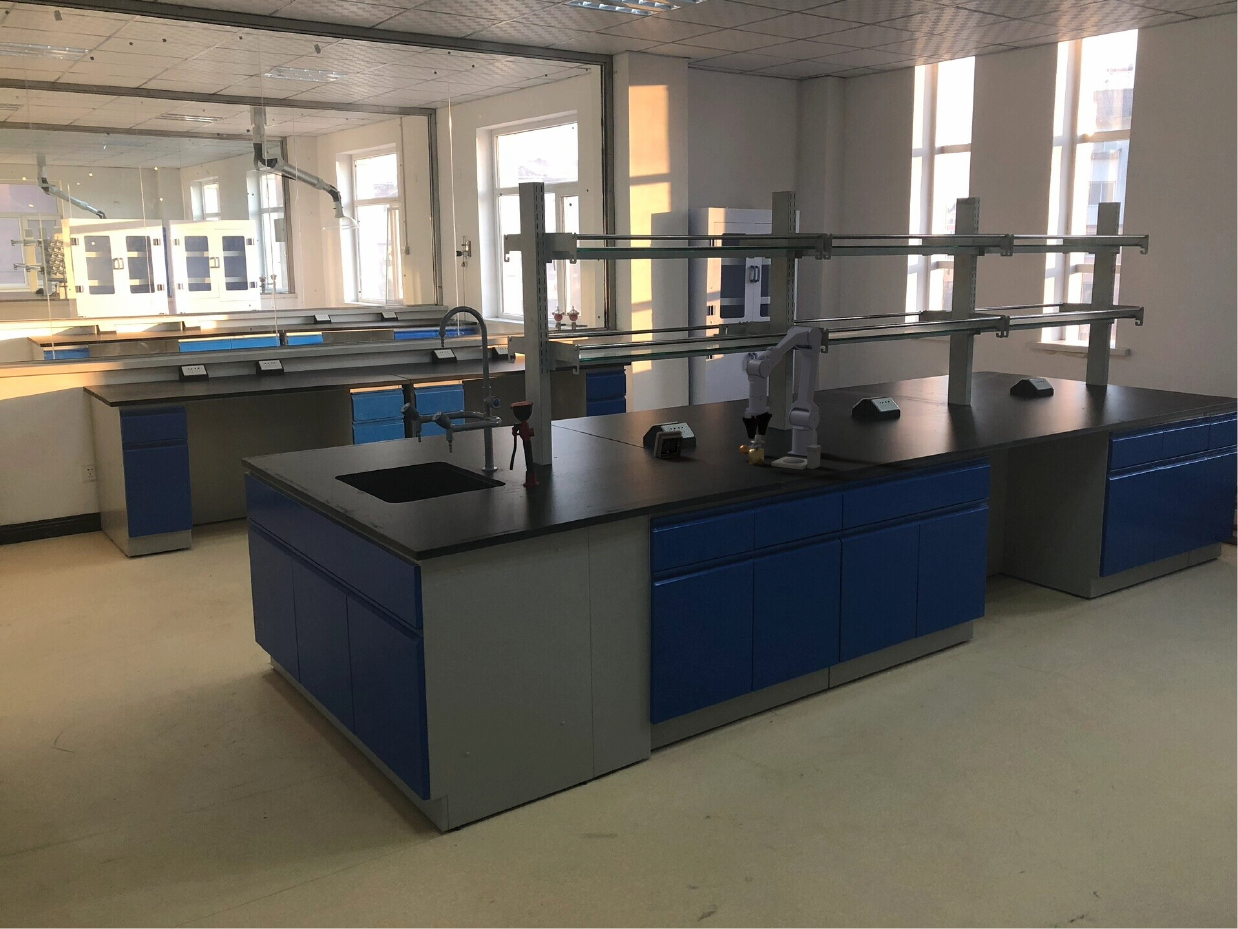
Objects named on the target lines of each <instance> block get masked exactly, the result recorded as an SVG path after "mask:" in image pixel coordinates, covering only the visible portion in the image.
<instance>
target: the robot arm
mask: <svg viewBox="0 0 1238 929" xmlns="http://www.w3.org/2000/svg"><path fill="white" fill-rule="evenodd" d="M786 333H787V334H786V335H785V336H784V337H783V339H781V341H779V343H778V344H776V346H768V347H766V350H765V351H764V352H763V353H761V354H760V355H759V356H757V357H756V359H755V358H752V359H751V360H750V361H748V363H747V364H746V368H745V373H746V375H747V380H748V383H749V386H748V387H749V388H748V396H749V397H748V407H746V408H745V411H744V416H742V417H741V419H742V422H743V424H744V426H745V428H746V430H745V431H746V434H747V437H748V439H749V440H754V439H755V436H756V435H761V436H765V435H766V433H767V430H768V426H769V423H770V421H771V419H772V417H773V413H770V411H771V409H770V408H771V407H770V406H767V404H768V402H767V400H768V398H767V396H768V395H767V394H768V377H770V375H771V373H772V370H773V369H774V367H776V365H778V364H779V363H780V362H781V361H782V360H783V355H784V354H786V353H787V352H788V351H789V350H791V349H792V348H794V347H795V348H796V349H797V350H799V351H800V352H801V353H802V359H801V369H800V370H801V371H800V377H799V384H798V385H799V386H798V393H797V400H795V401H794V402H793V403H791V405H790V410H789V412H788V416H787V421H788V424H789V425H790V428H792V438H791V439H792V441H791V443H792V444H791V450H790V451H788V452H787V454H788V455H793V456H794V455H795V456H803V457H807V447H808V446H810V445H818V431H816V428H817V427H818V426H819V424H820V421H821V420H820V407H819V406H818V405H817V404H816V403H815V402H814V396H815V391H816V390H815V389H816V382H817V381H816V379H817V373H818V365H819V357H820V352H821V346H822V338H823V335H822V332H821V330H820V329H819V328H818V327H817V326H813V327H810V326H797V325H792V326H791V327H790V328H789V329H788V330H787V332H786ZM757 432H758V433H757Z"/></svg>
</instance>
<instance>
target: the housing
mask: <svg viewBox="0 0 1238 929" xmlns="http://www.w3.org/2000/svg"><path fill="white" fill-rule="evenodd" d="M764 463H765V449H764V448H762V447H761V448H758V446H755V448H750V449H749V453H748V465H749V464H750V466H753V467H754V466H758V467H759V466H763V464H764ZM764 465H765V464H764Z"/></svg>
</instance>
